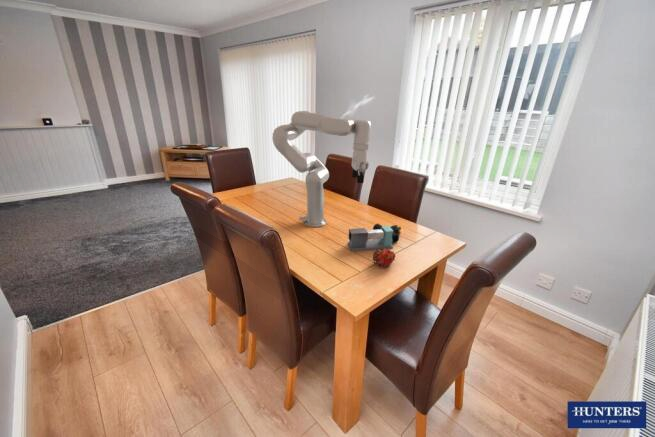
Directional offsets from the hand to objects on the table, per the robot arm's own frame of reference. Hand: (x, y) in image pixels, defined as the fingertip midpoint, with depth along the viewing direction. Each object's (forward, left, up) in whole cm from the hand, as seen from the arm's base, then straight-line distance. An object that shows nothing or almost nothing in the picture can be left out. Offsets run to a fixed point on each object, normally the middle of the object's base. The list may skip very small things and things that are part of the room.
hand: (357, 180), depth 143 cm
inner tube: (+4, -20, -24) cm, 31 cm away
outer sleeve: (-4, -20, -27) cm, 34 cm away
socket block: (+11, -20, -27) cm, 35 cm away
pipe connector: (+17, -10, -29) cm, 35 cm away
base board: (+2, -20, -29) cm, 35 cm away
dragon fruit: (+3, -36, -29) cm, 46 cm away
